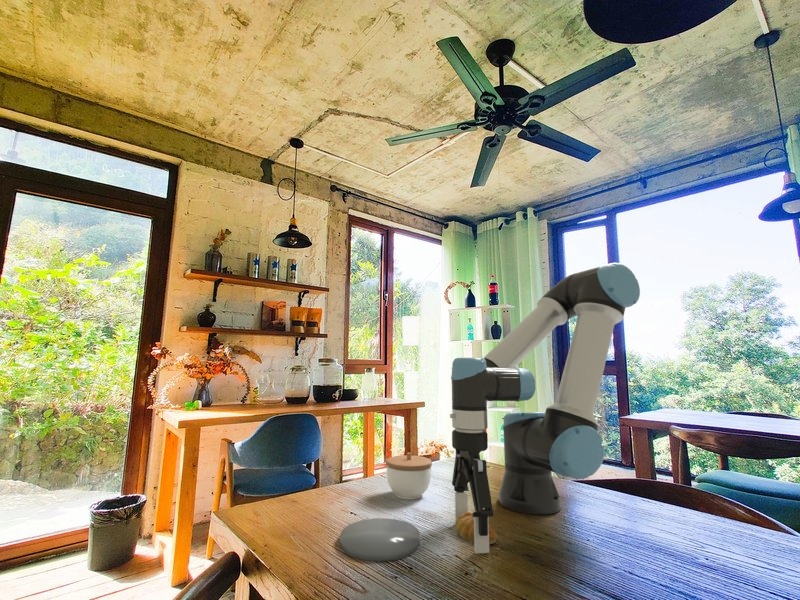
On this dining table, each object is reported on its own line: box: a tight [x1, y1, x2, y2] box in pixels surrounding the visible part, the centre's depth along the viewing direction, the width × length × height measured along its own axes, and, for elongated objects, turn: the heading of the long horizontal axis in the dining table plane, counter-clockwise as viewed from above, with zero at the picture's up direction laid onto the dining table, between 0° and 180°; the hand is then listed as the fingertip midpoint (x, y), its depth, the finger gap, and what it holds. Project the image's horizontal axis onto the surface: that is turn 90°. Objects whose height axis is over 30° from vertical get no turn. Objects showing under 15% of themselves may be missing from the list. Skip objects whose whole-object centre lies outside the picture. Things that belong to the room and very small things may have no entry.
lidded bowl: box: [385, 452, 433, 501], centre depth 108 cm, size 13×13×11 cm
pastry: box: [454, 511, 499, 546], centre depth 81 cm, size 9×7×4 cm
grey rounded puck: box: [339, 517, 421, 562], centre depth 78 cm, size 16×16×2 cm
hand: (470, 537), depth 80 cm, fingers open, 13 cm apart
